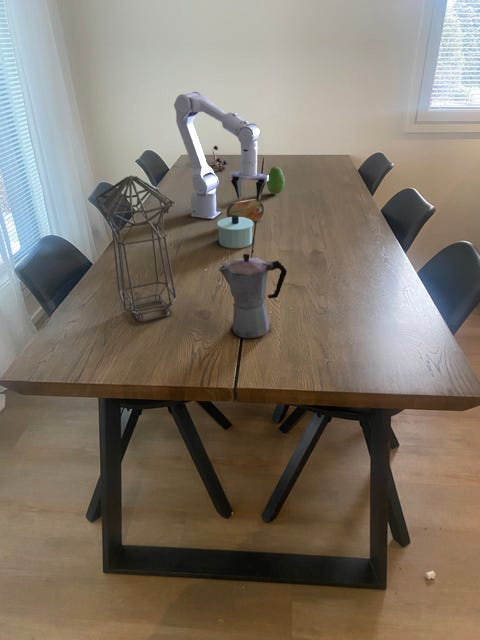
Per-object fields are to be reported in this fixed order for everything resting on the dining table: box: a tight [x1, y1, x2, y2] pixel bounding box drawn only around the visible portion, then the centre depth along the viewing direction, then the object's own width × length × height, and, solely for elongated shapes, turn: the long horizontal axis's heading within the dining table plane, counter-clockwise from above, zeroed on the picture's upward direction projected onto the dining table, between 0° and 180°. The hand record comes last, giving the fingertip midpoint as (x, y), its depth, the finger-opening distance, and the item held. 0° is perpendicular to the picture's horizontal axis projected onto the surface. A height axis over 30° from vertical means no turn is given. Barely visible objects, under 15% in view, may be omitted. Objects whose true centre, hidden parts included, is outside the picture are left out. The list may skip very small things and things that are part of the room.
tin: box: [226, 198, 265, 223], centre depth 172 cm, size 15×3×8 cm, turn 117°
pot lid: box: [217, 215, 254, 231], centre depth 154 cm, size 12×12×3 cm
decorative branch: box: [210, 145, 228, 173], centre depth 245 cm, size 11×9×30 cm
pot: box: [218, 226, 253, 249], centre depth 156 cm, size 11×11×6 cm
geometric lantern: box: [95, 175, 177, 323], centre depth 110 cm, size 16×16×35 cm
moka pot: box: [218, 253, 287, 339], centre depth 106 cm, size 10×15×20 cm, turn 95°
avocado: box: [266, 165, 286, 195], centre depth 200 cm, size 8×8×12 cm
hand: (248, 199), depth 169 cm, fingers open, 7 cm apart
